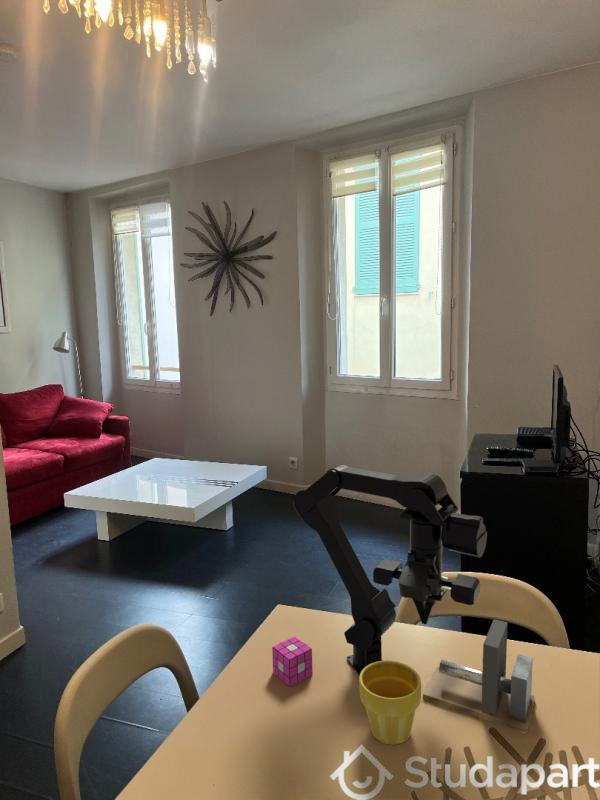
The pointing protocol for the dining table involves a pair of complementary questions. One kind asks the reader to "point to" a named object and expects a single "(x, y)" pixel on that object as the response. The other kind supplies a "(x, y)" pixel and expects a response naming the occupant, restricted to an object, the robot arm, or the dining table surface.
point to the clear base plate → (471, 700)
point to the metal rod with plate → (501, 683)
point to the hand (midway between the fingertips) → (424, 623)
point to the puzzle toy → (292, 661)
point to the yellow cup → (390, 699)
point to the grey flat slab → (493, 665)
